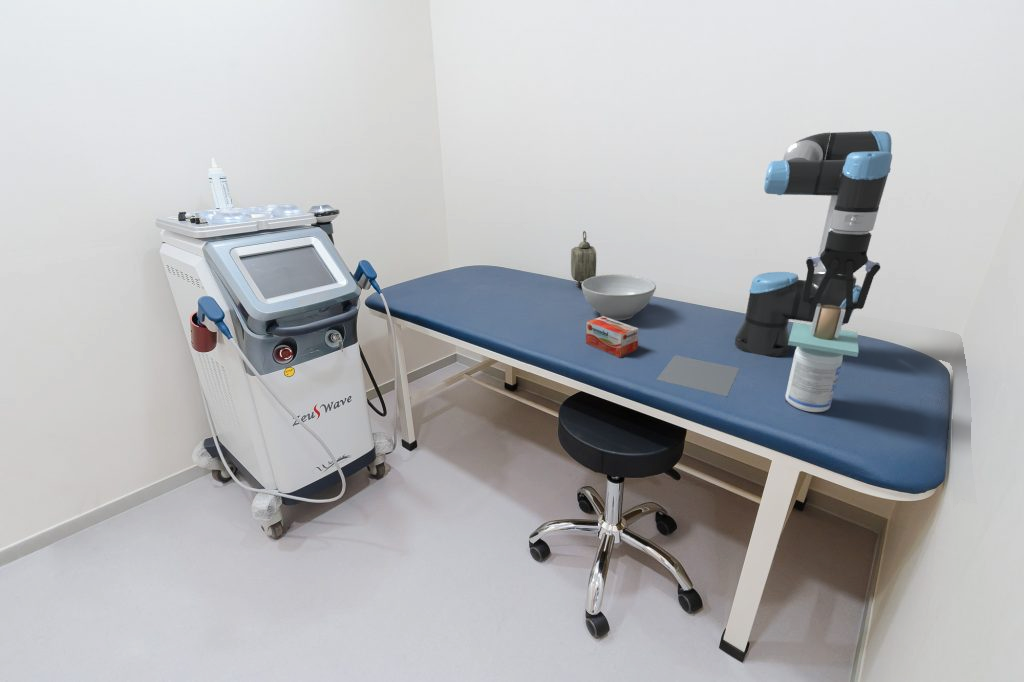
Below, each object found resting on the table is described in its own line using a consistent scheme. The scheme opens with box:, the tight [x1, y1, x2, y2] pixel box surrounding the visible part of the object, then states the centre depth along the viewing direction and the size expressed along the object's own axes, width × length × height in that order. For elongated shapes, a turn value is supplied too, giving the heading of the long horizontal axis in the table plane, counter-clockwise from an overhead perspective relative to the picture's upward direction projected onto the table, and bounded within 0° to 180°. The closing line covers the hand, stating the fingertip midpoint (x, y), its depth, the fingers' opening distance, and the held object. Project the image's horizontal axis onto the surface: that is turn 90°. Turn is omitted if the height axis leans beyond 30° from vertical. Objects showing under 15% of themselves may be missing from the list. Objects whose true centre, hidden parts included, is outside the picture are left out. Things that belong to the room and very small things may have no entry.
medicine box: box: [585, 316, 639, 358], centre depth 146 cm, size 15×8×8 cm, turn 38°
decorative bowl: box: [581, 274, 657, 321], centre depth 172 cm, size 27×27×12 cm
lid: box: [788, 305, 859, 358], centre depth 105 cm, size 13×13×8 cm
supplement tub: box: [785, 346, 844, 413], centre depth 111 cm, size 10×10×15 cm
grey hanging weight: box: [570, 230, 597, 288], centre depth 204 cm, size 14×9×25 cm, turn 1°
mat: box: [656, 354, 740, 397], centre depth 128 cm, size 18×18×1 cm
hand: (824, 333), depth 106 cm, fingers closed on lid, 4 cm apart
